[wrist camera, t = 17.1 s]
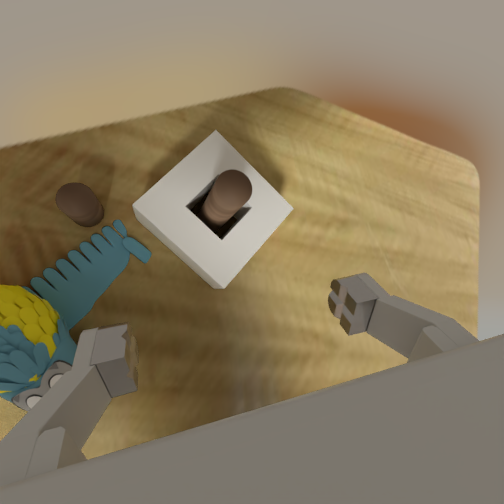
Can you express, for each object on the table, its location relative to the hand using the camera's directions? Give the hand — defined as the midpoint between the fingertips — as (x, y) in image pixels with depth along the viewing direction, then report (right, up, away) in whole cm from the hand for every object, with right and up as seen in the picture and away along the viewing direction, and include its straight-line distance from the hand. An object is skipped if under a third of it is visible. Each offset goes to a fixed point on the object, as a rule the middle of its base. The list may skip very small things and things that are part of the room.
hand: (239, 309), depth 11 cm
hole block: (-5, +6, +24) cm, 25 cm away
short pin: (-18, +7, +20) cm, 28 cm away
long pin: (-5, +6, +24) cm, 26 cm away
